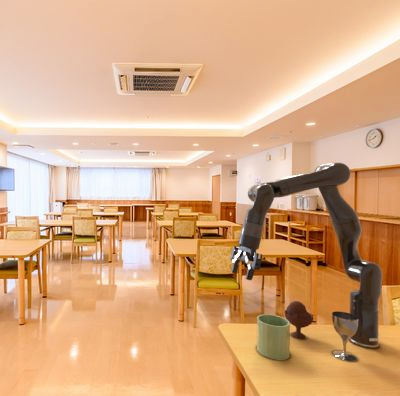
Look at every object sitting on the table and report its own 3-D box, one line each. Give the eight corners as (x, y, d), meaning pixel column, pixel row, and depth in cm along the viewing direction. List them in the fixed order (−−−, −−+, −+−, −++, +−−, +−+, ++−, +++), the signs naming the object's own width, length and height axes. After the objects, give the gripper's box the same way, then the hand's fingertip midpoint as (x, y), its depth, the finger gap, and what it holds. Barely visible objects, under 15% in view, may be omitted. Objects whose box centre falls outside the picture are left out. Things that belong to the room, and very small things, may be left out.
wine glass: (335, 359, 105) (335, 318, 105) (329, 348, 112) (329, 310, 112) (361, 363, 102) (362, 321, 102) (353, 352, 109) (353, 313, 109)
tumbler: (260, 341, 118) (261, 312, 118) (291, 350, 111) (292, 319, 111) (253, 353, 109) (253, 321, 108) (286, 363, 102) (286, 329, 102)
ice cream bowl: (318, 343, 116) (318, 306, 116) (288, 340, 118) (288, 304, 118) (308, 331, 126) (308, 297, 126) (280, 329, 128) (280, 295, 128)
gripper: (272, 240, 105) (262, 284, 104) (246, 234, 118) (237, 272, 118) (256, 236, 102) (245, 280, 102) (231, 230, 116) (221, 269, 115)
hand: (240, 276), depth 110 cm, fingers open, 8 cm apart
